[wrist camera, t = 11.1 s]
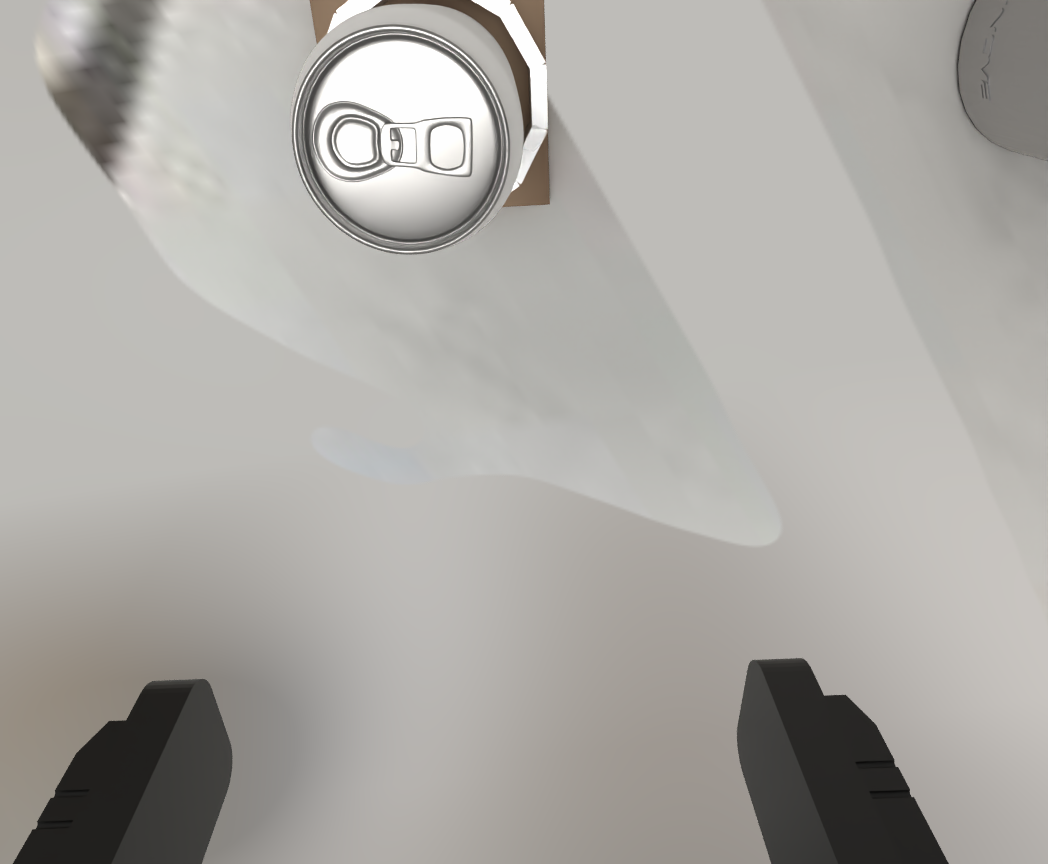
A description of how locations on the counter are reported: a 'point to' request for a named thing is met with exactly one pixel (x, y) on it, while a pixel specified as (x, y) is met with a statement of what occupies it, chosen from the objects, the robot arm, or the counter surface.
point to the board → (532, 15)
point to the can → (408, 127)
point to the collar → (499, 5)
